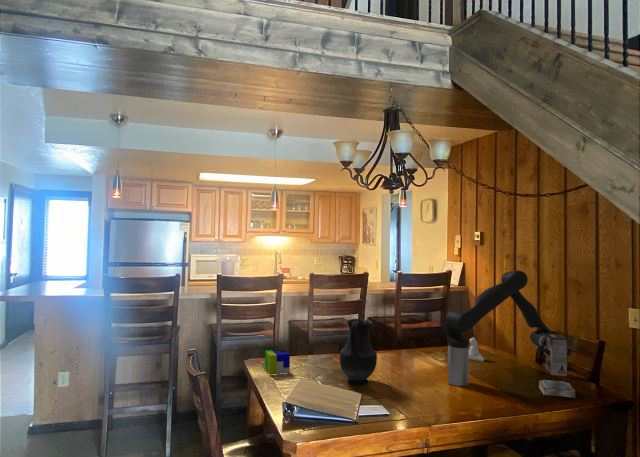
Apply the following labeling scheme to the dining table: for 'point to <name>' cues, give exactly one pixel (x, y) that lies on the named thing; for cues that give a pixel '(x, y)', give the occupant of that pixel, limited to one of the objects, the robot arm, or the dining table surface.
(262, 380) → the dining table surface
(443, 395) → the dining table surface
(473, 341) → the seated beast figurine
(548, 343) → the coffee box
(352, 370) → the pitcher
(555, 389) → the plinth
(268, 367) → the puzzle toy
